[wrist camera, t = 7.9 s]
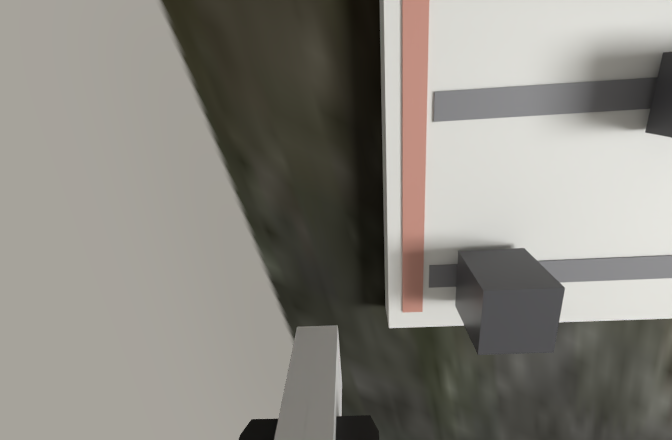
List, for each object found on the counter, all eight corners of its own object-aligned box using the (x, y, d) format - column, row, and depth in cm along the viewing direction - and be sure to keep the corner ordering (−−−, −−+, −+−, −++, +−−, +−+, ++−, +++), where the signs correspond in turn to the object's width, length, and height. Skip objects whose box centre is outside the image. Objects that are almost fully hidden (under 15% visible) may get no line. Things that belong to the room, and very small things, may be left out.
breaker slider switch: (458, 250, 18) (483, 291, 14) (524, 247, 17) (565, 287, 14) (455, 305, 19) (477, 354, 15) (517, 303, 18) (553, 352, 15)
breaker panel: (375, -209, 14) (380, -256, 12) (843, -258, 13) (933, -318, 11) (385, 306, 22) (389, 329, 20) (677, 295, 21) (711, 318, 19)
